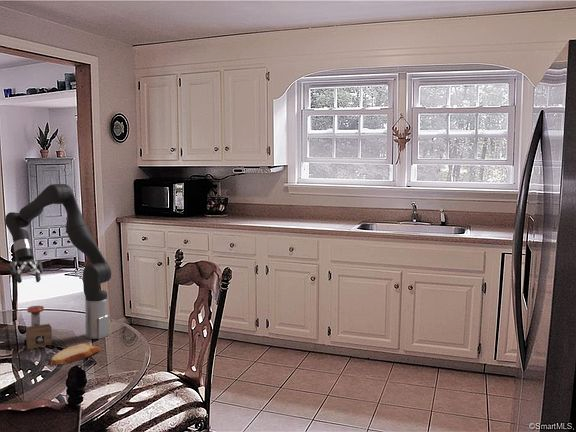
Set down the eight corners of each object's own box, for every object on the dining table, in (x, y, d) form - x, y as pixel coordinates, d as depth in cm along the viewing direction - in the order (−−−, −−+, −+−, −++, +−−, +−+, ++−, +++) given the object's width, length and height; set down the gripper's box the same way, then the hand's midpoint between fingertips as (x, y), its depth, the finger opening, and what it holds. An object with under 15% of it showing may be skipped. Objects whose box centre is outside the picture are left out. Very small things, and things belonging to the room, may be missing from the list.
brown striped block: (26, 345, 219) (26, 327, 218) (49, 342, 224) (49, 323, 224) (28, 349, 215) (27, 330, 214) (51, 345, 220) (51, 327, 219)
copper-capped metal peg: (26, 338, 226) (26, 306, 225) (42, 336, 230) (42, 305, 228) (32, 349, 215) (31, 315, 214) (48, 346, 219) (48, 313, 217)
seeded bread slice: (48, 367, 199) (47, 358, 199) (55, 350, 216) (55, 342, 216) (97, 364, 204) (97, 355, 204) (101, 348, 221) (101, 339, 221)
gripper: (11, 247, 239) (17, 279, 234) (41, 247, 251) (48, 278, 245) (4, 253, 243) (10, 286, 238) (34, 253, 254) (40, 284, 249)
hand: (29, 282), depth 242 cm, fingers open, 8 cm apart
